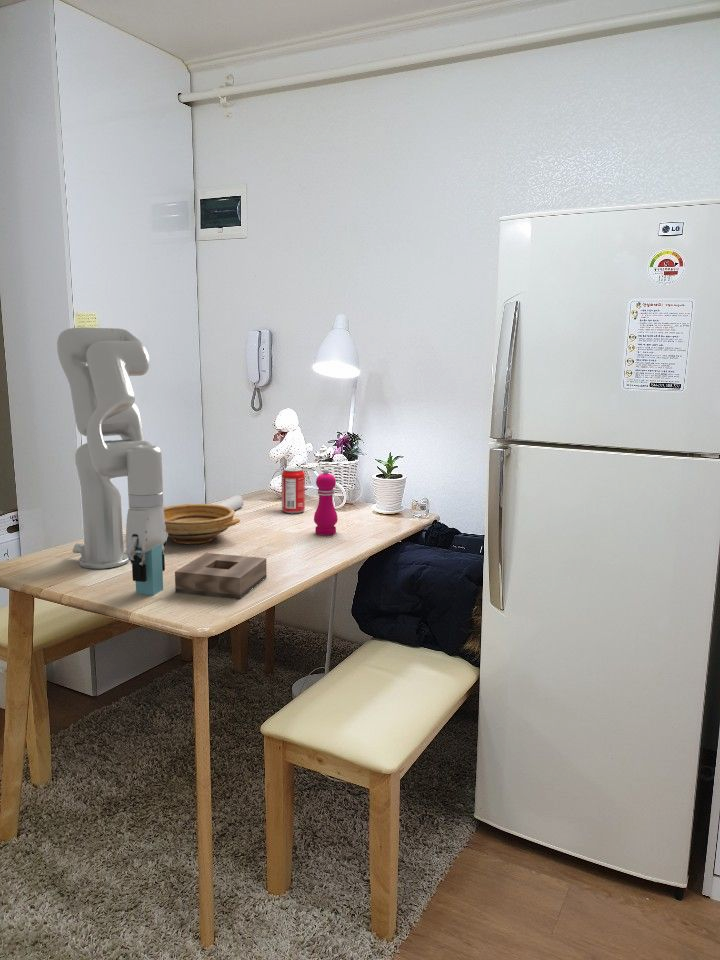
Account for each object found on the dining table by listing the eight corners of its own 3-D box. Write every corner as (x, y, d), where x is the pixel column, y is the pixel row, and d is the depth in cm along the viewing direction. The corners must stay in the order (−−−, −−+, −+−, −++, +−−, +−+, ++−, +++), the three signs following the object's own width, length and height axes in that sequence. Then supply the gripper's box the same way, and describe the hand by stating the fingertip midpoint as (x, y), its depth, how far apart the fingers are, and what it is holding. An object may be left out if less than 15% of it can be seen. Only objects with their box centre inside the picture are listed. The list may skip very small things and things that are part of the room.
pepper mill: (323, 537, 217) (324, 471, 214) (309, 532, 222) (309, 468, 219) (342, 533, 222) (342, 468, 218) (327, 528, 227) (327, 465, 224)
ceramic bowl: (257, 533, 220) (257, 508, 219) (217, 554, 198) (217, 526, 196) (172, 525, 229) (171, 500, 228) (125, 544, 207) (124, 517, 205)
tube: (230, 495, 257) (197, 509, 233) (243, 491, 256) (211, 505, 232) (235, 509, 258) (202, 525, 234) (248, 506, 256) (217, 521, 232)
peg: (136, 593, 166) (134, 547, 164) (146, 587, 170) (144, 542, 168) (153, 595, 165) (151, 548, 163) (163, 589, 169) (161, 543, 167)
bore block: (175, 592, 167) (174, 571, 166) (206, 572, 182) (206, 552, 182) (240, 599, 163) (239, 577, 162) (266, 577, 179) (266, 558, 178)
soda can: (285, 515, 245) (285, 471, 242) (279, 510, 252) (278, 467, 249) (307, 513, 248) (307, 470, 245) (300, 508, 255) (300, 466, 252)
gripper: (151, 492, 173) (154, 563, 176) (109, 507, 156) (113, 586, 160) (179, 494, 171) (182, 566, 174) (140, 509, 155) (143, 589, 158)
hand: (149, 575), depth 167 cm, fingers open, 7 cm apart
